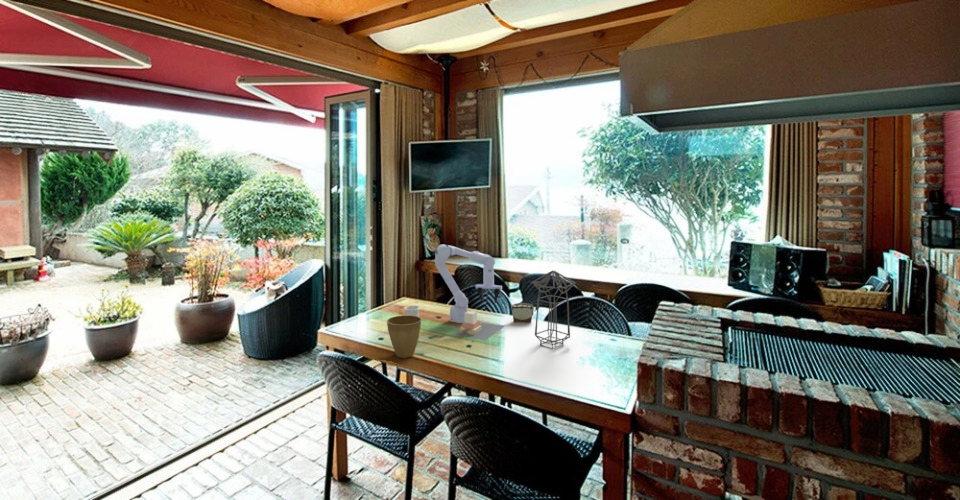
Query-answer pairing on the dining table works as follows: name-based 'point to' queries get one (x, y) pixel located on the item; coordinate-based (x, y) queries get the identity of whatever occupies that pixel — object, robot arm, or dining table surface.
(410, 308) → the dixie cup
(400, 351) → the plant pot
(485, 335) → the mat
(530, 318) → the food container
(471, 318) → the top block
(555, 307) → the geometric lantern
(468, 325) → the middle block
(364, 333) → the dining table surface
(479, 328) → the bottom slab
